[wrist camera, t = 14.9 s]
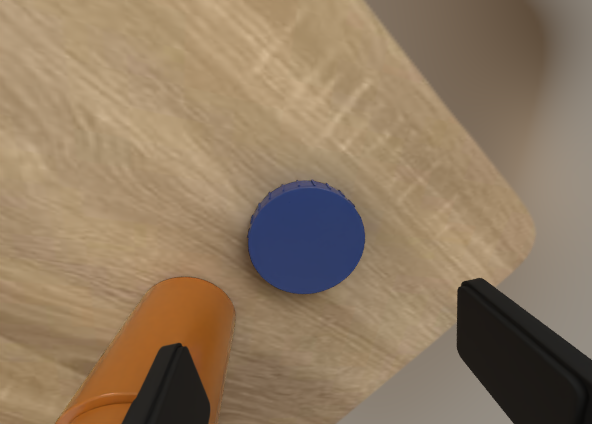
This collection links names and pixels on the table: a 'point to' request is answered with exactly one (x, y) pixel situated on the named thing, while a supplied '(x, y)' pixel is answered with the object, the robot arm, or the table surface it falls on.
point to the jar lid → (305, 237)
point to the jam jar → (146, 343)
